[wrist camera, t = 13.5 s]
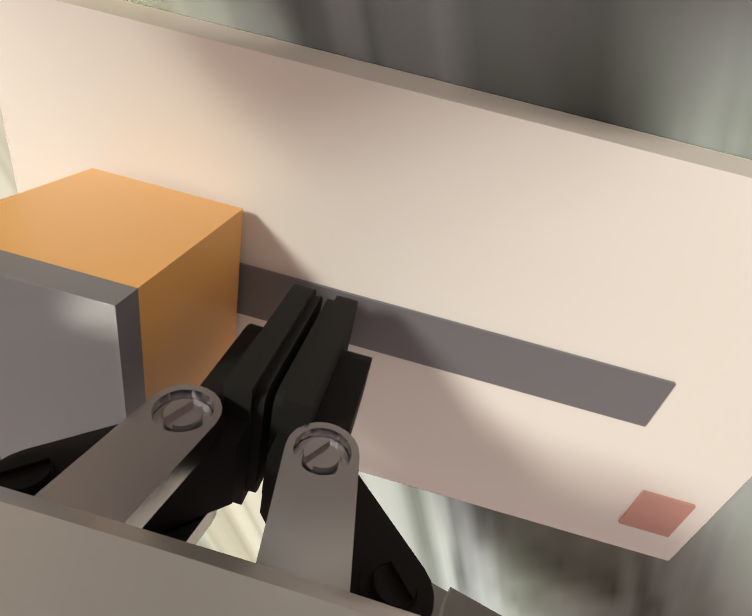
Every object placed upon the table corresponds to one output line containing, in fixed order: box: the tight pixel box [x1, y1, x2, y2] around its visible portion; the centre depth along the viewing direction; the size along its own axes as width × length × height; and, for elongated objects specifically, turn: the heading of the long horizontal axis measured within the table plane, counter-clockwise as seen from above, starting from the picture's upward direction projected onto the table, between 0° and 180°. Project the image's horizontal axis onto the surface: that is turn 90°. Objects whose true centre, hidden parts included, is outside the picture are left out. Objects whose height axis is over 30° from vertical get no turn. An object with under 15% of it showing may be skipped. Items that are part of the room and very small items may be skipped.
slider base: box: [0, 0, 752, 561], centre depth 15 cm, size 22×12×4 cm, turn 78°
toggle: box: [0, 168, 243, 458], centre depth 11 cm, size 4×5×5 cm
